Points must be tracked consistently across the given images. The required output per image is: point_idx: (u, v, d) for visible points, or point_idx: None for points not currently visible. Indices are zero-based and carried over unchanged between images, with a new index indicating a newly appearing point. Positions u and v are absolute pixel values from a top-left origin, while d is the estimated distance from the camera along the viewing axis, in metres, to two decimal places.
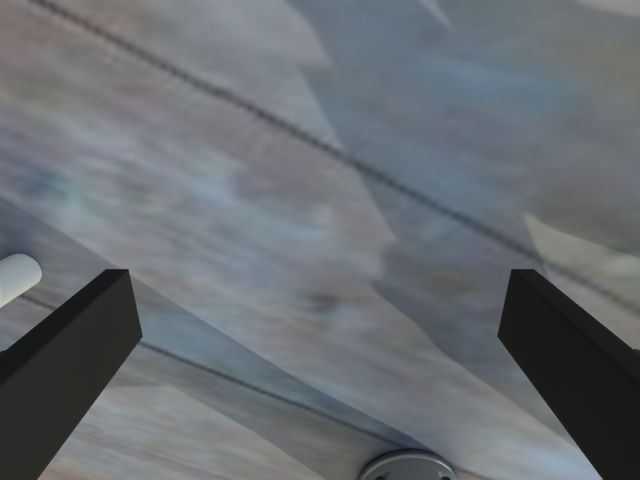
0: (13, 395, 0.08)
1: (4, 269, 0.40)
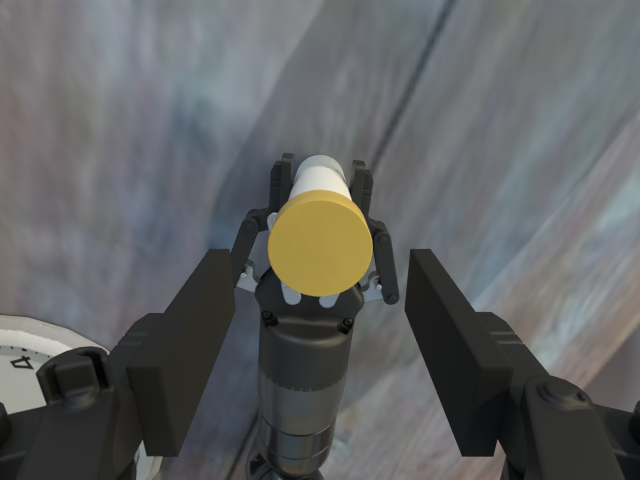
0: (184, 343, 0.09)
1: (295, 176, 0.28)
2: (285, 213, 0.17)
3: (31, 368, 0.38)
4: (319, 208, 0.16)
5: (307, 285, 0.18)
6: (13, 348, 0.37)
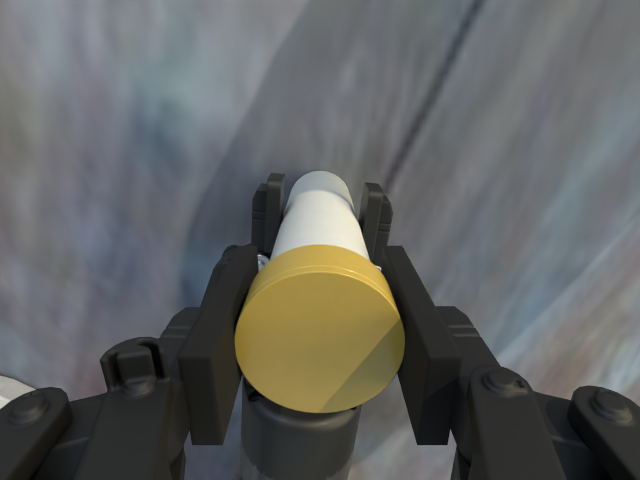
0: (227, 335, 0.10)
1: (288, 201, 0.22)
2: (262, 293, 0.10)
3: None
4: (318, 285, 0.10)
5: (299, 398, 0.11)
6: None
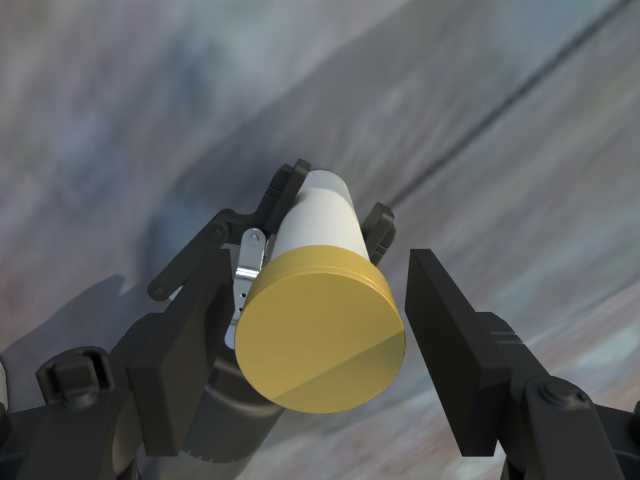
0: (184, 343, 0.09)
1: None
2: (246, 377, 0.11)
3: None
4: (249, 333, 0.10)
5: (373, 379, 0.11)
6: None
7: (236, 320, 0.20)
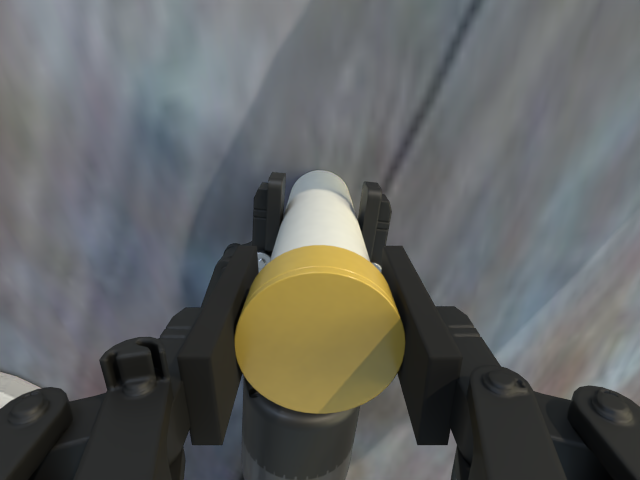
0: (226, 335, 0.10)
1: (288, 200, 0.22)
2: (267, 397, 0.11)
3: None
4: (249, 357, 0.11)
5: (384, 359, 0.11)
6: None
7: None
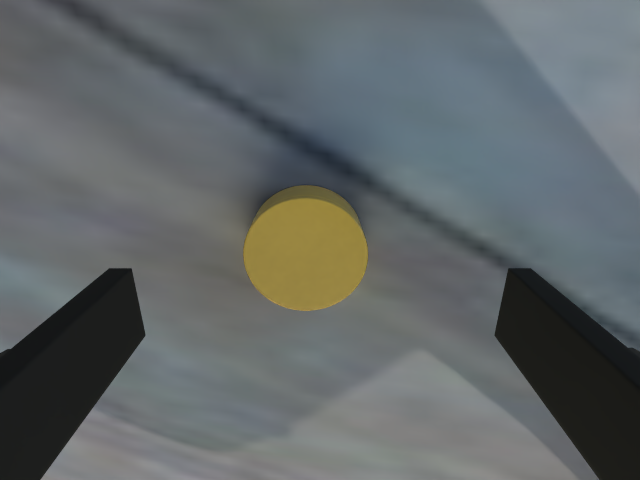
0: (19, 392, 0.08)
1: None
2: (267, 297, 0.15)
3: None
4: (254, 265, 0.15)
5: (353, 266, 0.15)
6: None
7: None
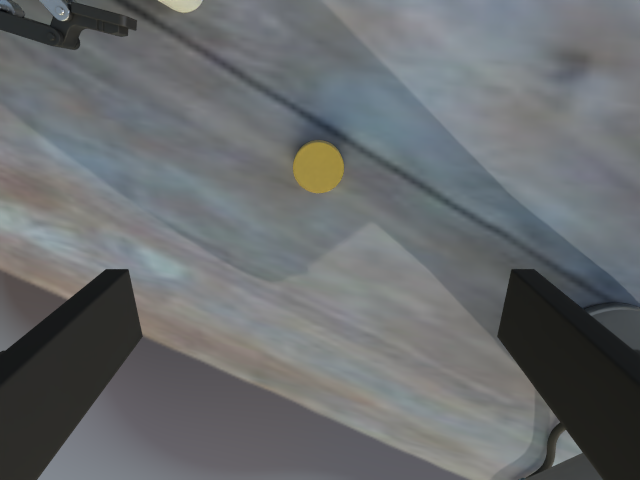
0: (13, 395, 0.08)
1: None
2: (302, 186, 0.36)
3: None
4: (297, 171, 0.36)
5: (337, 172, 0.36)
6: None
7: None
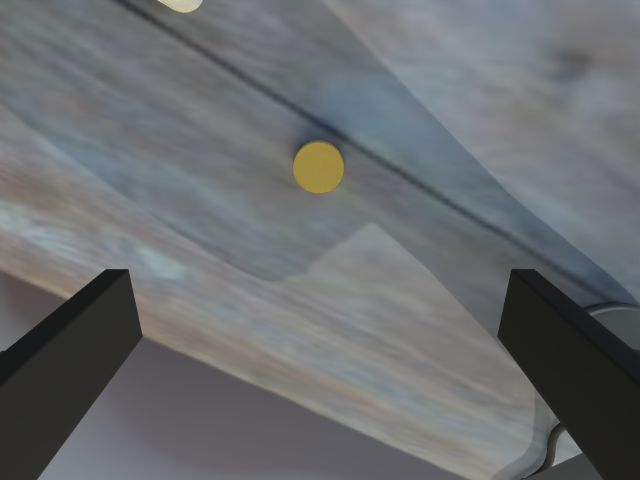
0: (13, 395, 0.08)
1: None
2: (302, 186, 0.36)
3: None
4: (297, 171, 0.36)
5: (337, 172, 0.36)
6: None
7: None
